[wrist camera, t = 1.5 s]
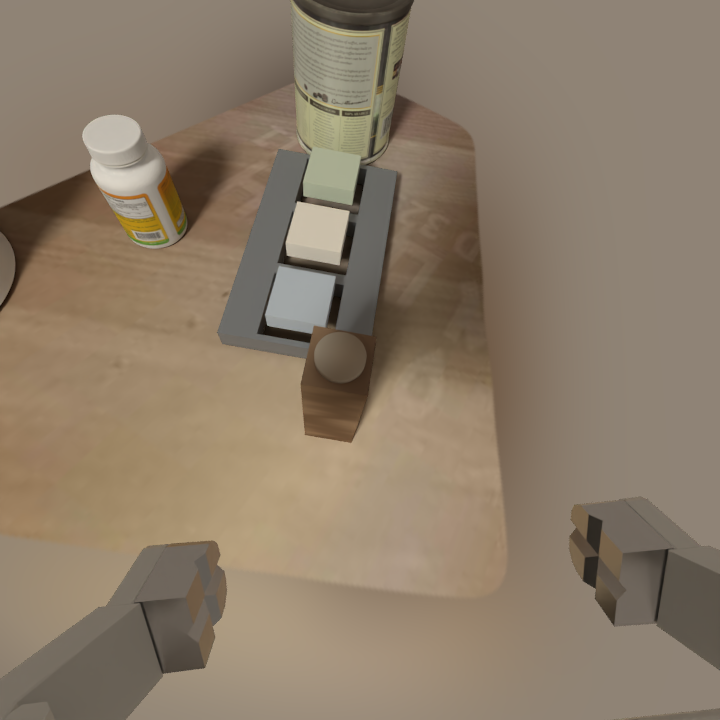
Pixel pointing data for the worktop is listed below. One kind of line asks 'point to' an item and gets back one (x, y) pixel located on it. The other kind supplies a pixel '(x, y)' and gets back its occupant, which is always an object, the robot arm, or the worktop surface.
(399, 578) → the worktop surface
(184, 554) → the robot arm
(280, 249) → the keypad
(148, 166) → the supplement bottle
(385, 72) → the coffee can
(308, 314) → the key
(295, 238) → the key mid
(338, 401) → the wooden pepper mill
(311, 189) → the key
